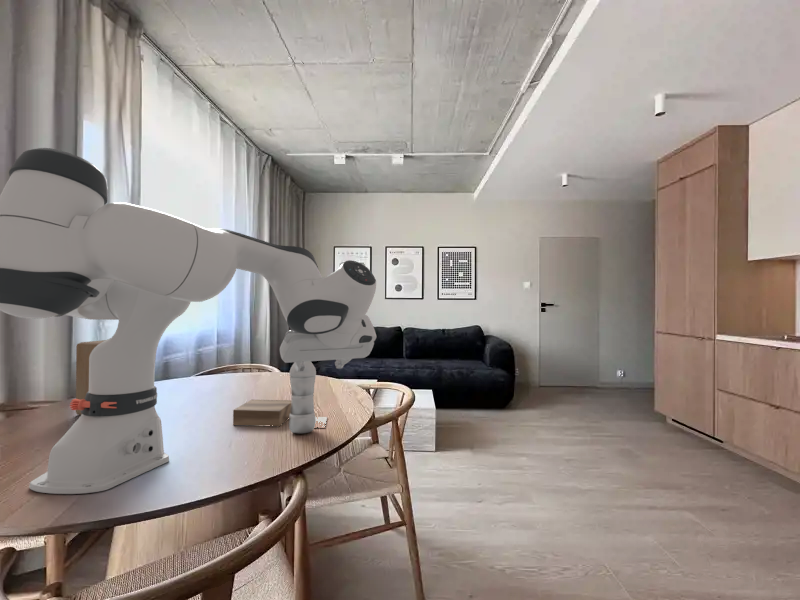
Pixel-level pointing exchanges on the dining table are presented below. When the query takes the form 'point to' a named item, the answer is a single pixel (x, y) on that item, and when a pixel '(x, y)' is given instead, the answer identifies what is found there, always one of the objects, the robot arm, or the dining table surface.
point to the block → (83, 368)
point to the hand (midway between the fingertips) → (319, 367)
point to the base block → (262, 412)
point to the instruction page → (322, 419)
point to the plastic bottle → (302, 399)
